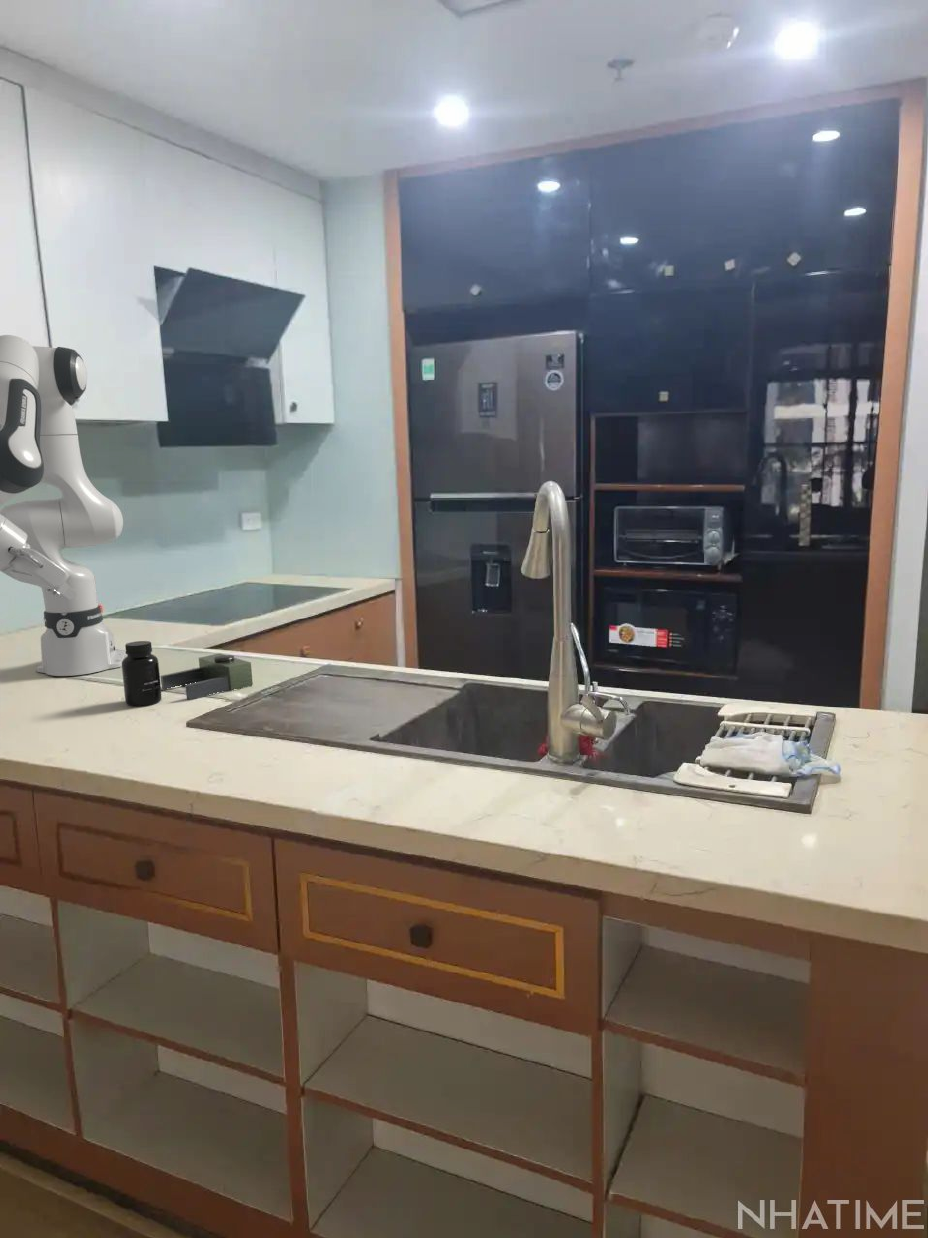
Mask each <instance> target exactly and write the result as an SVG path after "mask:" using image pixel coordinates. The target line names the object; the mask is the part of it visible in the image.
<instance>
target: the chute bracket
mask: <svg viewBox="0 0 928 1238" xmlns="http://www.w3.org/2000/svg"><path fill="white" fill-rule="evenodd" d="M198 665H199V667H195V668H191V669H186V670H182V671H177V672H172V673H168V674H162V675H160V685H161V690H162V689H164V690H165V689H167V688H171V687H175V686H180V685H185V684H187V685H185V686H184V687H185V694H186V701H193V700H197V699H200V698H201V699H202V698H205V697H208V696H207V695H209V694H213V693H217V692H222V691H226V692H228V691H227V690H233V691H235V690H234V689H237V690H240V689H239V688H242V689H244V688H243V687H246V688H248V687H247V686H250V687H253V686H254V684H253V683H254V682H253V673H252V662H250V661H247V660H243V659H241V658H237V657H235V656H234V655H231V654H224V653H216V654H210V655H206V656H201V657H198ZM195 682H196V683H195ZM190 683H191V684H190ZM252 685H253V686H252ZM164 690H163V691H164ZM165 691H166V690H165ZM222 693H223V692H222ZM204 696H205V697H204ZM209 696H210V695H209Z"/></svg>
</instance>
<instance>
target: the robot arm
mask: <svg viewBox="0 0 928 1238" xmlns="http://www.w3.org/2000/svg"><path fill="white" fill-rule="evenodd" d="M87 382H88V372H87V367H86V365H85V362H84V360H83V358H82V356H81V354H80V353H78V351H77V350H75V349H72V348H68V347H62V346H57V347H48V346H34V345H33V346H32V345H31V344H30V343H29V342H28V341H26V340H25V339H23V338H22V337H19V336H16V335H11V334H2V335H0V425H1V427H0V506H2V505H4V504H5V503H7V502H9V501H10V500H12V499H13V498H15V497H16V496H17V495H19V494H21V493H23V492H25V491H28V490H29V489H32V488H33V487H35V486H37V485H38V484H40V483H41V482H42V483H45V484H47V485H50V486H54V487H56V488H57V489H58V490H59V491H60V493H61V497H60V498H58V499H40V500H39V499H38V500H25V501H22V502H21V501H20V502H15V503H12V504H9V505H4V506H3V507H2V509H1V510H0V572H1V573H3V574H5V575H7V576H8V577H10V578H12V579H14V580H15V581H18V582H21V583H25V584H29V585H31V586H32V585H33V586H37V587H39V588H41V591H42V596H43V603H44V610H45V611H44V612H43V622H44V627H45V628H46V630H45V632H44V633H42V634H41V636H40V650H41V651H40V652H41V653H40V654H41V664H40V665H38V666H36V672H37V673H43V674H45V675H48V676H51V677H52V676H54V677H69V676H72V677H73V676H80V675H88V674H92V673H97V672H98V673H99V672H101V671H102V672H103V671H106V670H111V669H117V668H122V661H123V659H124V658H126V656H127V654H126V652H125V651H126V649H117V648H116V645H115V644H116V643H115V636H114V633H113V631H112V630H110V628H108V626H107V625H106V624H105V622H103V621H104V616H103V613H104V607H103V605H102V604H99V602H98V594H97V586H96V579H95V575H94V573H93V572H92V570H90V569H89V568H88V567H87V566H83V565H82V564H79V563H76V562H74V561H70V560H68V559H66V558H65V557H63V555H62V553H61V551H62V550H63V549H64V550H65V549H71V548H72V549H73V548H83V547H95V546H100V545H104V544H108V543H112V542H115V541H116V540H118V538H119V537H120V535H121V534H122V531H123V527H124V517H123V514H122V511H121V509H120V508H119V506H118V505H116V503H115V502H114V501H113V500H112V499H110V498H108V497H106V495H103V494H102V493H101V492H100V491H99V490H98V489H97V488H96V487H95V486H94V485H93V484H92V482H91V481H90V478H88V476H87V473H86V471H85V468H84V465H83V461H82V460H83V459H82V456H81V455H82V454H81V450H80V449H81V448H80V441H79V435H78V427H77V421H76V416H75V412H74V408H73V406H74V404H75V402H76V400H78V399H79V398H81V396H82V395H83V394H84V393H85V391H86V389H87Z"/></svg>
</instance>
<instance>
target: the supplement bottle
mask: <svg viewBox="0 0 928 1238" xmlns="http://www.w3.org/2000/svg"><path fill="white" fill-rule="evenodd" d="M124 647H125V652H126V656H125V658H124V659H123V661H122V666H121V671H122V680H123V691H124V692H123V693H124V700H125V704H126V705H128V706H130V707H147V706H153V705H156V704H158V703H160V702H161V701H162V698H163V697H162V684H161V675H160V666H159V665H160V664H159V659H158V657H157V656H156V655H154V654H152V652H153V648H152V642H151V641H148V640H140V641H139V640H138V641H132V642H131V641H130V642H127V643H125V646H124Z"/></svg>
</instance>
